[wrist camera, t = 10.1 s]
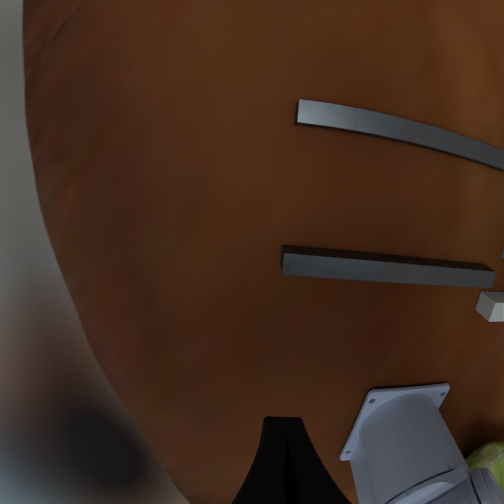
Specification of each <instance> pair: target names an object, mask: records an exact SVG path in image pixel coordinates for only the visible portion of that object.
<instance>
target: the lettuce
mask: <svg viewBox="0 0 504 504" xmlns="http://www.w3.org/2000/svg"><path fill="white" fill-rule="evenodd" d="M465 462H466V464H467V466H468V468H469V469H470V470H471V471H472V470H474V469H475V468H476V467H481V468H488V469H489V470H490V471H491V472H492V474H493V475H494V477H495V478H496V480H497V482H498V484H499V485H500V487H501V489H502V491H503V493H504V442H487V443H486V444H484V445H482V446H481V447H479V448H477V449H475V450H474V451H473V452H472V453H471V455H469V456H468V457H467V458H466V459H465Z"/></svg>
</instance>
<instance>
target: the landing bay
mask: <svg viewBox="0 0 504 504" xmlns="http://www.w3.org/2000/svg"><path fill="white" fill-rule="evenodd" d="M475 310H476V311H478V312H479V313H480V314H481V315H482V316H483V317H484V318H485V319H486V320H487V321H488V322H494V321H504V292H485V291H481V293H480V296H479V299H478V302H477V305H476V308H475Z"/></svg>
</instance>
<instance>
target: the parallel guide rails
mask: <svg viewBox="0 0 504 504" xmlns="http://www.w3.org/2000/svg"><path fill="white" fill-rule="evenodd" d="M295 125H302V126H310V127H317V128H325V129H331V130H338V131H344V132H350V133H356V134H362V135H367V136H372V137H378V138H383V139H387V140H392V141H397V142H401V143H406V144H410V145H414V146H418V147H422V148H426V149H430V150H434V151H438V152H442V153H445V154H449V155H452V156H456V157H459V158H463V159H466V160H469V161H473V162H476V163H479V164H482V165H485V166H488V167H491V168H494V169H497V170H500V171H503V172H504V151H503V150H500V149H498V148H495V147H493V146H490V145H488V144H485V143H482V142H479V141H477V140H474V139H471V138H468V137H465V136H462V135H459V134H456V133H453V132H450V131H447V130H444V129H440V128H437V127H434V126H430V125H427V124H423V123H419V122H416V121H412V120H408V119H404V118H400V117H396V116H392V115H387V114H383V113H378V112H374V111H369V110H364V109H359V108H353V107H348V106H342V105H336V104H330V103H323V102H317V101H309V100H302V99H299V100H298V102H297V103H296V113H295ZM280 265H281V272H282V274H283V275H296V276H308V277H321V278H335V279H348V280H362V281H377V282H392V283H408V284H424V285H442V286H460V287H480V288H491V287H492V284H493V281H494V278H495V274H496V271H494V270H493V269H491V268H489V267H488V266H486V265H485V264H476V263H466V262H457V261H447V260H437V259H427V258H417V257H407V256H396V255H386V254H376V253H365V252H354V251H344V250H333V249H322V248H311V247H300V246H288V245H283V246H282V255H281V264H280Z"/></svg>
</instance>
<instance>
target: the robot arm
mask: <svg viewBox="0 0 504 504" xmlns="http://www.w3.org/2000/svg"><path fill="white" fill-rule="evenodd" d="M449 388H450V386H449V384H448V383H443V384H434V385H425V386H415V387H403V388H388V389H373V390H371V391H369V392H368V394H367V396H366V399H365V401H364V403H363V406H362V408H361V411H360V413H359V415H358V418H357V420H356V422H355V424H354V427H353V429H352V431H351V433H350V435H349V437H348V440H347V442H346V444H345V446H344V448H343V450H342V452H341V454H340V460H350V463H351V468H352V473H353V477H354V482H355V487H356V492H357V496H358V501H359V504H504V493H503V491H502V489H501V487H500V485H499V484H498V482H497V480H496V478H495V477H494V475H493V474H492V472H491V471H490V470H489V469H488V468H481V467H476V468H475V469H474V470H472V471H471V470H470V469H469V468H468V466H467V464H466V462H465V460H464V458H463V456H462V454H461V452H460V450H459V448H458V446H457V444H456V442H455V440H454V438H453V436H452V434H451V432H450V430H449V429H448V427H447V425H446V423H445V421H444V419H443V417H442V416H441V414H440V412H439V410H438V409H439V407H440V405H441V403H442V402H443V400H444V398H445V396H446V394H447V392H448V391H449ZM371 399H372V400H371ZM231 504H351V502H350V501H349V500H348V499H347V498H346V497H345V495H344V494H343V493H342V492H341V490H340V489H339V488H338V486H337V485H336V483H335V482H334V481H333V479H332V478H331V476H330V475H329V473H328V471H327V470H326V468H325V467H324V465H323V463H322V461H321V460H320V458H319V456H318V454H317V452H316V450H315V448H314V446H313V444H312V442H311V440H310V438H309V436H308V434H307V431H306V429H305V426H304V423H303V421H302V419H301V418H300V417H271V416H267V417H265V418H264V421H263V427H262V433H261V438H260V444H259V448H258V451H257V453H256V456H255V459H254V461H253V464H252V466H251V468H250V470H249V473H248V475H247V477H246V479H245V481H244V483H243V485H242V487H241V488H240V490H239V492H238V494H237V495H236V497H235V499H234V500H233V502H232V503H231Z"/></svg>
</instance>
